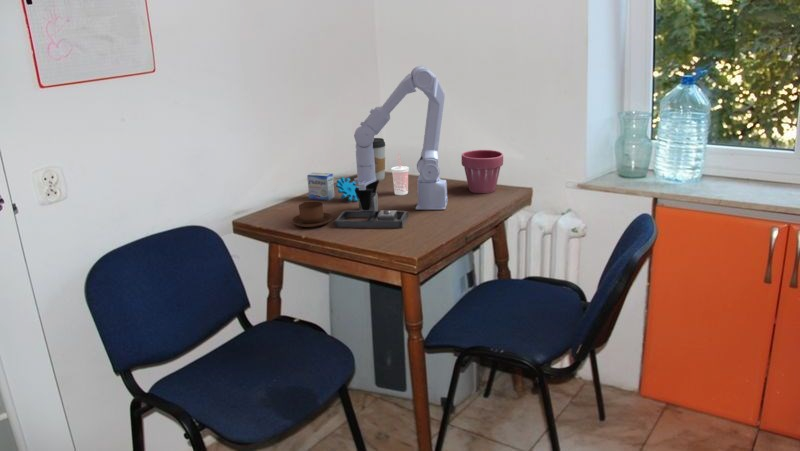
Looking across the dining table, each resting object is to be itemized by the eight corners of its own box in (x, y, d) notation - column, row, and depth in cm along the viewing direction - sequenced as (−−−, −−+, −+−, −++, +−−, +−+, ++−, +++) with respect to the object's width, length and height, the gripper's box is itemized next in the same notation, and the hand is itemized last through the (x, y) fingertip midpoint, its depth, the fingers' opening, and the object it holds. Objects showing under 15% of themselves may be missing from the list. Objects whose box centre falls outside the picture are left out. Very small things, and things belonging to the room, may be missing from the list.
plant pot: (511, 188, 234) (511, 152, 230) (485, 197, 225) (484, 160, 221) (480, 182, 244) (480, 147, 240) (453, 190, 235) (452, 154, 231)
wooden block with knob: (397, 219, 207) (396, 208, 206) (394, 224, 202) (393, 213, 201) (381, 219, 208) (380, 208, 207) (378, 224, 203) (377, 213, 202)
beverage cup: (410, 195, 233) (408, 155, 228) (392, 195, 233) (390, 156, 228) (410, 190, 238) (408, 151, 234) (392, 191, 239) (390, 152, 234)
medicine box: (308, 199, 234) (306, 175, 232) (315, 195, 238) (312, 171, 235) (329, 200, 231) (326, 176, 229) (335, 197, 235) (332, 172, 233)
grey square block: (378, 209, 219) (377, 191, 217) (374, 213, 214) (373, 196, 213) (363, 208, 220) (361, 191, 218) (359, 213, 215) (358, 196, 214)
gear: (347, 200, 224) (333, 177, 227) (338, 211, 227) (324, 187, 230) (370, 197, 232) (356, 174, 235) (361, 207, 235) (347, 184, 238)
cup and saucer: (285, 225, 208) (283, 206, 206) (316, 215, 216) (314, 197, 214) (308, 232, 200) (306, 213, 198) (340, 222, 208) (338, 203, 206)
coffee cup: (363, 181, 253) (360, 142, 249) (368, 176, 261) (365, 137, 256) (385, 181, 252) (382, 141, 247) (389, 176, 260) (387, 137, 255)
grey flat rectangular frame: (407, 217, 209) (407, 210, 208) (402, 228, 199) (401, 221, 198) (343, 216, 213) (343, 210, 212) (335, 227, 203) (334, 221, 202)
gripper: (358, 159, 220) (361, 199, 224) (347, 170, 206) (351, 212, 211) (379, 159, 219) (382, 199, 223) (370, 170, 205) (373, 212, 209)
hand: (368, 206), depth 217 cm, fingers open, 7 cm apart
